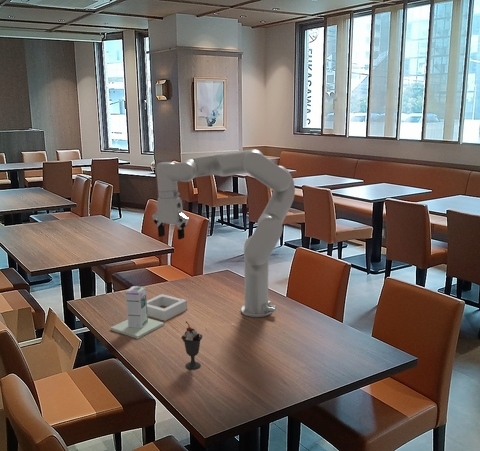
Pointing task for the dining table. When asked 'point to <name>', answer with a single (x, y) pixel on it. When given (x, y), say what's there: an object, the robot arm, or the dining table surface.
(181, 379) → the dining table surface
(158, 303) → the holder
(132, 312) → the syrup box
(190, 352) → the sundae
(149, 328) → the mat
